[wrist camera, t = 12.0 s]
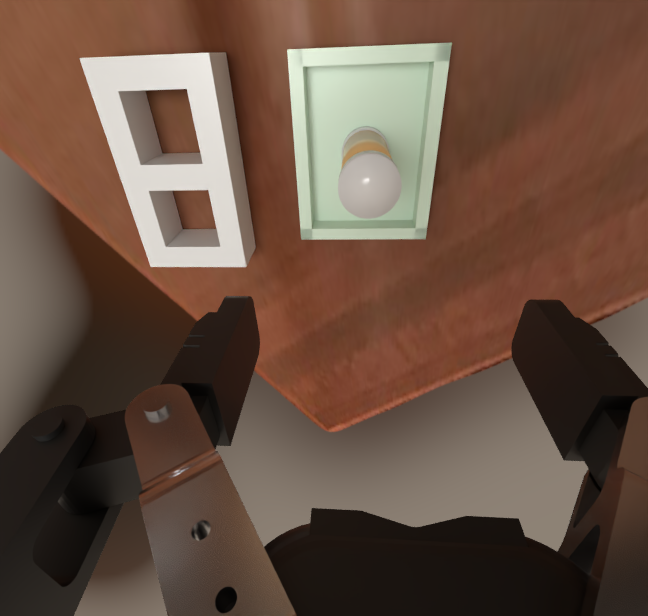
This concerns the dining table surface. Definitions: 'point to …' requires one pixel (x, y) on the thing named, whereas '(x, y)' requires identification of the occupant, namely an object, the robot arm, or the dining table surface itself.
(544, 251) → the dining table surface
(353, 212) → the fuse
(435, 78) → the parts tray
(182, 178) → the frame
